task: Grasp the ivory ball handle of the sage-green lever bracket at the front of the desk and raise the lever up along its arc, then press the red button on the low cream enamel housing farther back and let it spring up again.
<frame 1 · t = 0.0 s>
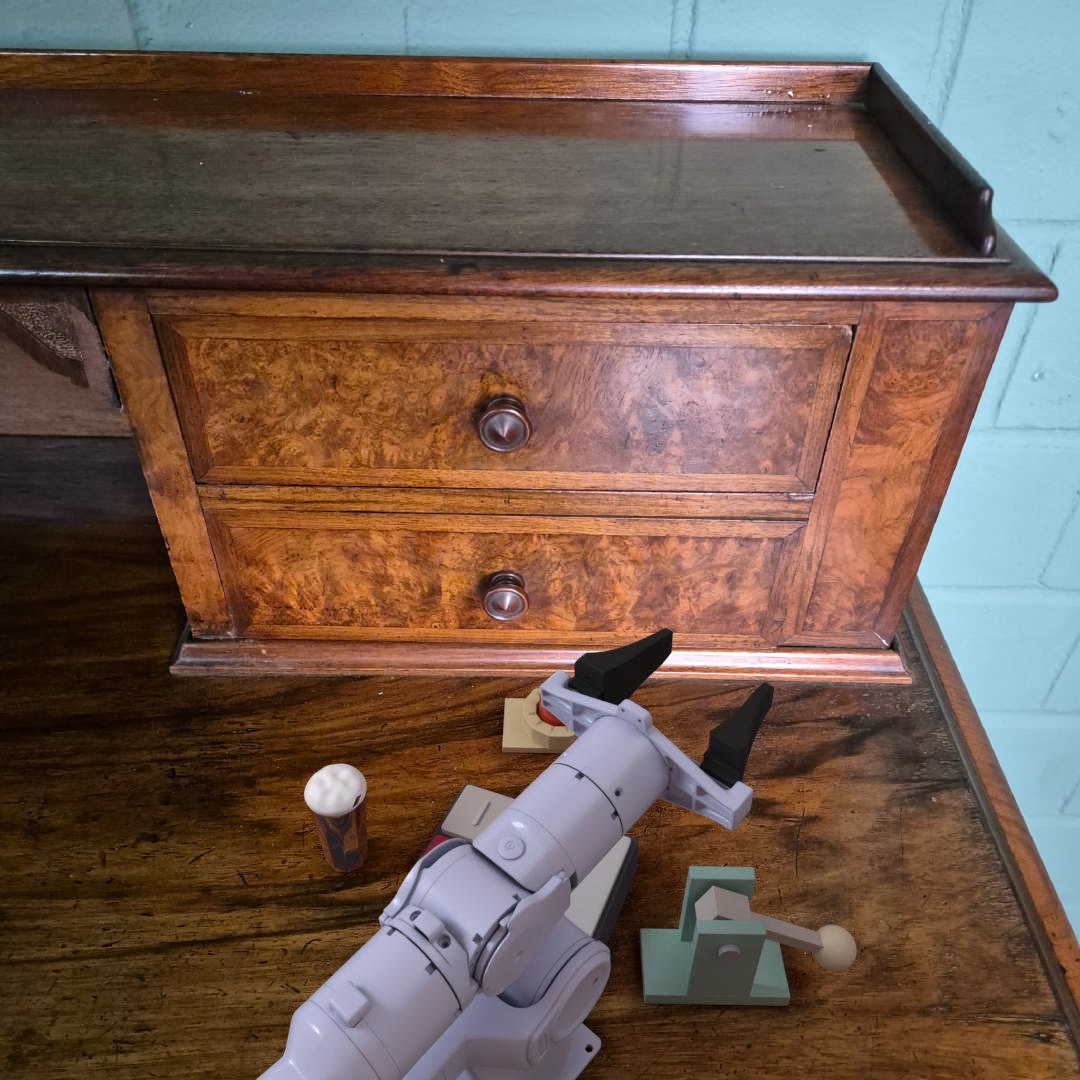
hand: (716, 666, 62), 22 cm above the table, tool horizontal, fingers open, 7 cm apart
milkshake: (351, 860, 75), on the table
calculator: (522, 892, 73), on the table
button box: (558, 728, 86), on the table
stop button: (559, 705, 85), point 3 cm above the table, slide at 0.1 cm
bracket: (711, 970, 68), on the table
lever: (780, 931, 65), point 5 cm above the table, hinge at -25.0°
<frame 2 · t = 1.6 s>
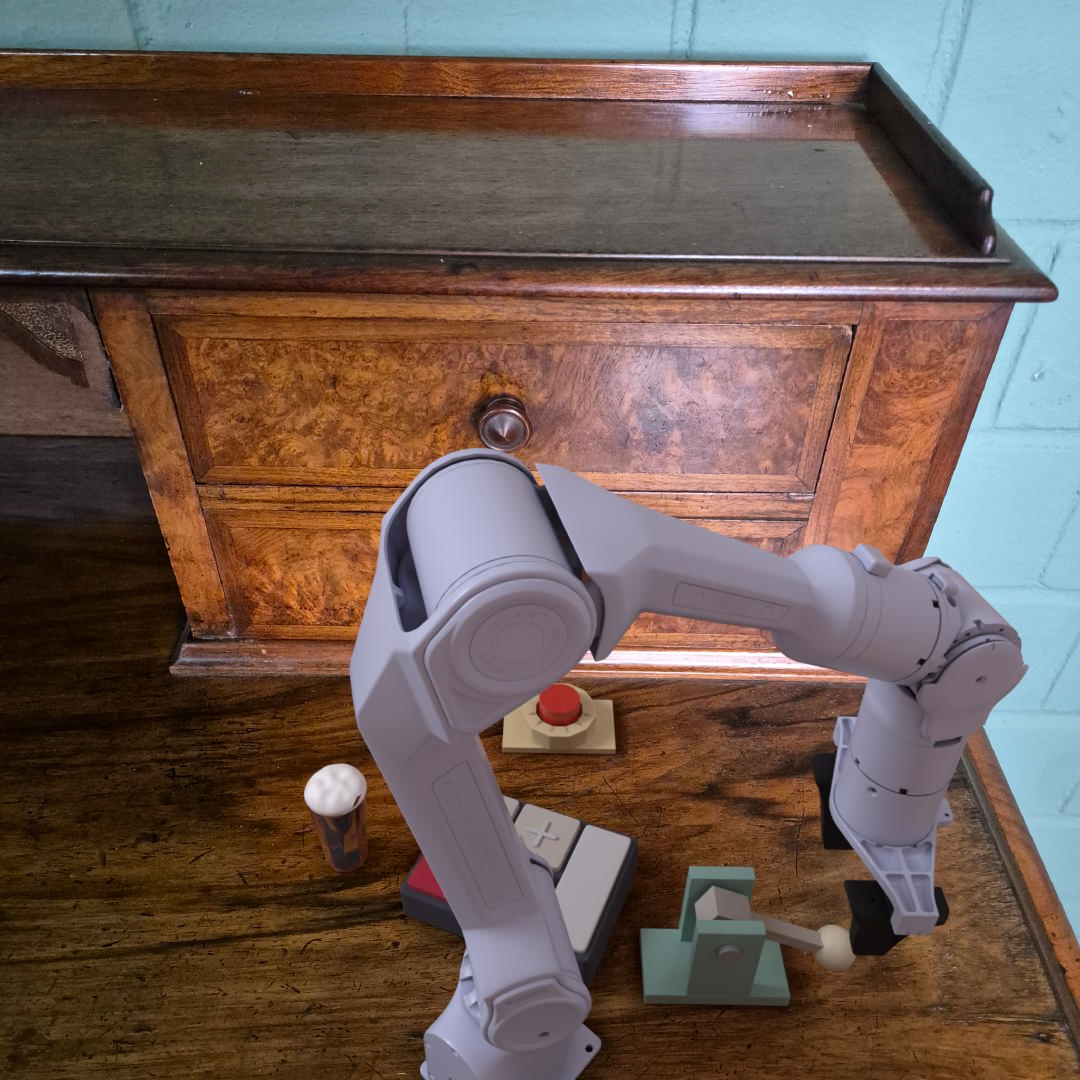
hand: (852, 895, 62), 9 cm above the table, tool pointing down, fingers open, 7 cm apart
nothing on the table moved.
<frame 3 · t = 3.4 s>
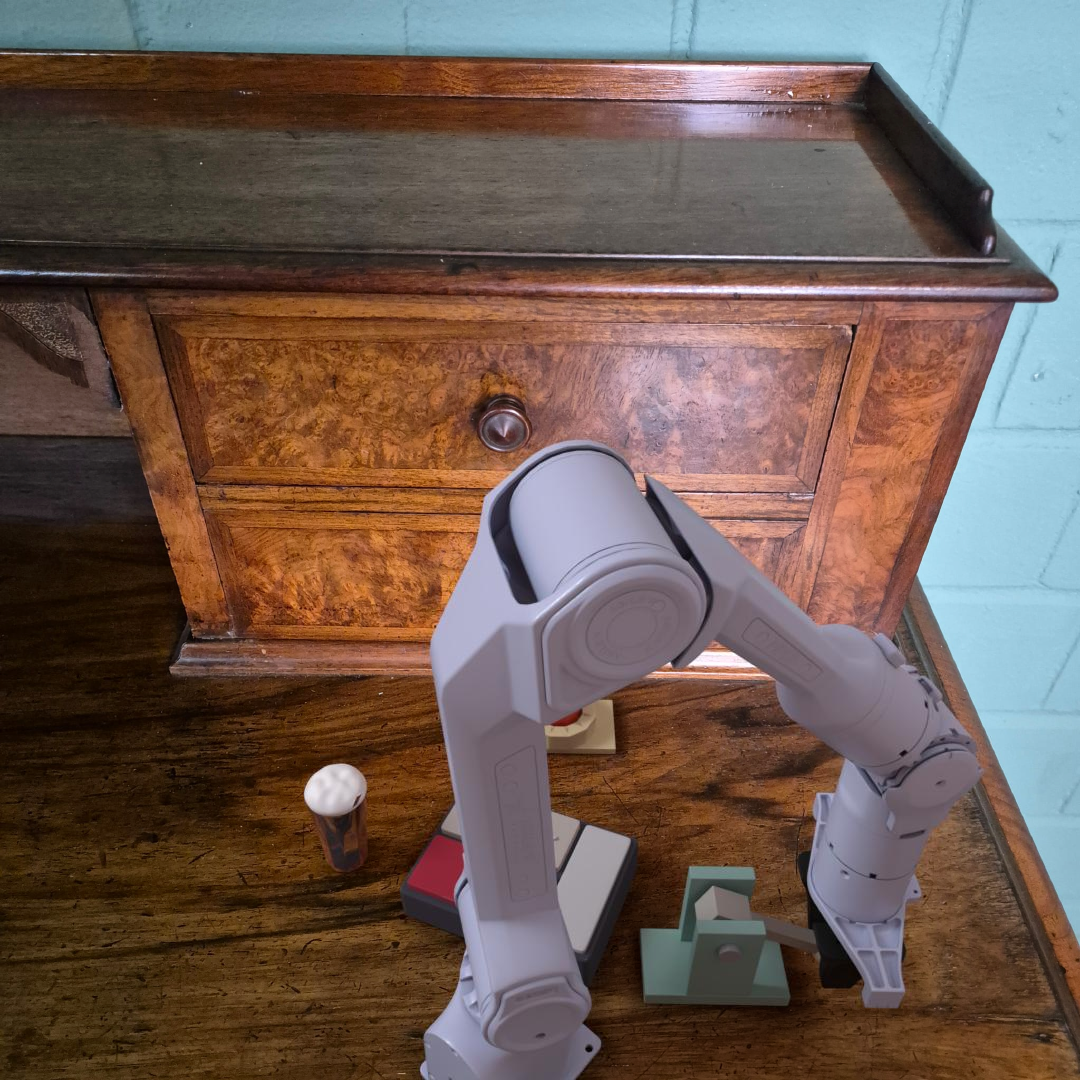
hand: (829, 960, 67), 2 cm above the table, tool pointing down, fingers closed on lever, 3 cm apart
lever: (780, 931, 65), point 5 cm above the table, hinge at -25.0°, touching gripper
everything else where it was.
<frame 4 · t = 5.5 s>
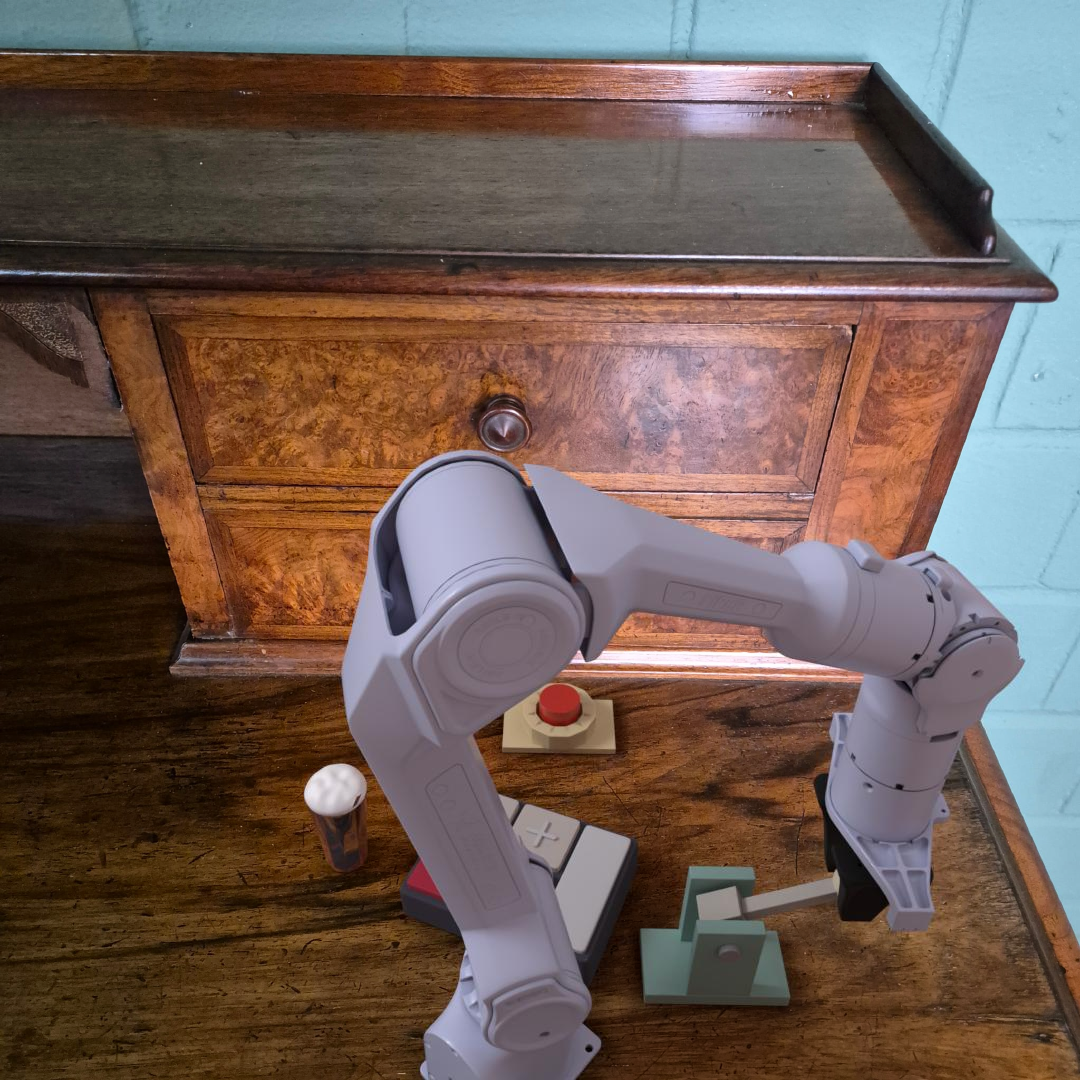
hand: (848, 892, 62), 10 cm above the table, tool pointing down, fingers closed on lever, 3 cm apart
lever: (789, 899, 63), point 9 cm above the table, hinge at 24.5°, touching gripper
everything else where it was.
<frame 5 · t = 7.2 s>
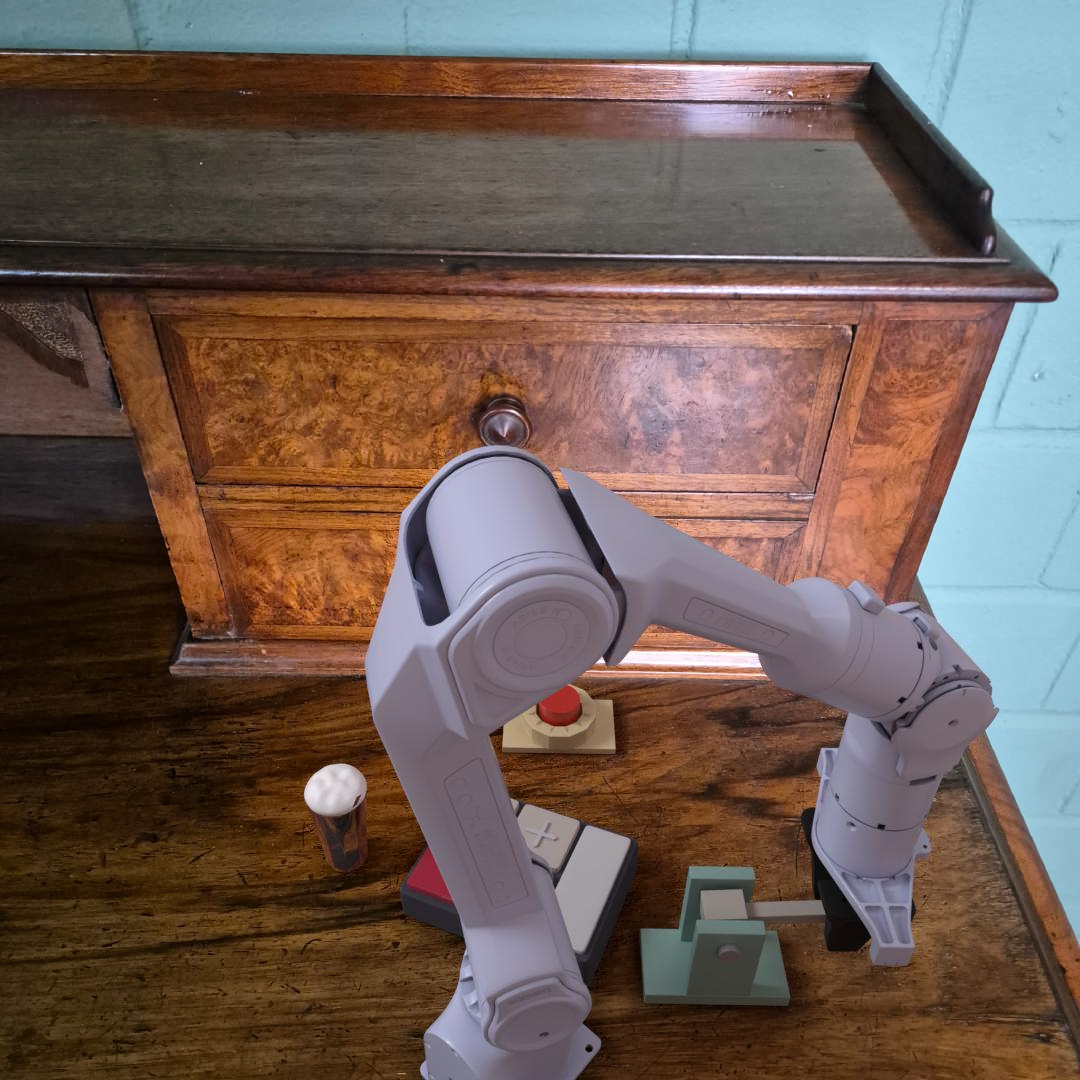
hand: (835, 922, 64), 6 cm above the table, tool pointing down, fingers closed on lever, 3 cm apart
lever: (791, 912, 63), point 7 cm above the table, hinge at 5.0°, touching gripper
everything else where it was.
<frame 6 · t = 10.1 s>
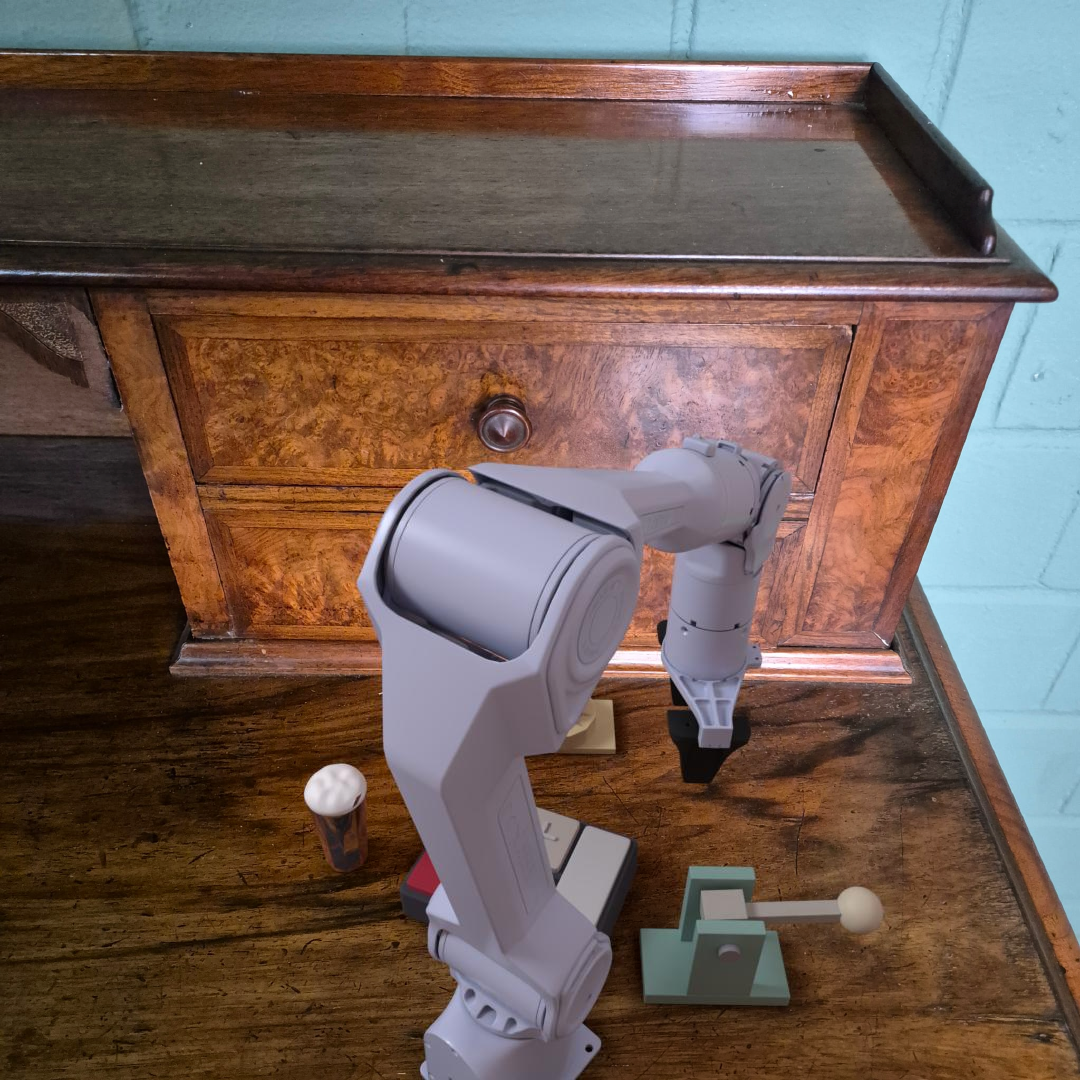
hand: (691, 740, 73), 10 cm above the table, tool pointing down, fingers open, 7 cm apart
lever: (791, 912, 63), point 7 cm above the table, hinge at 4.8°
everything else where it was.
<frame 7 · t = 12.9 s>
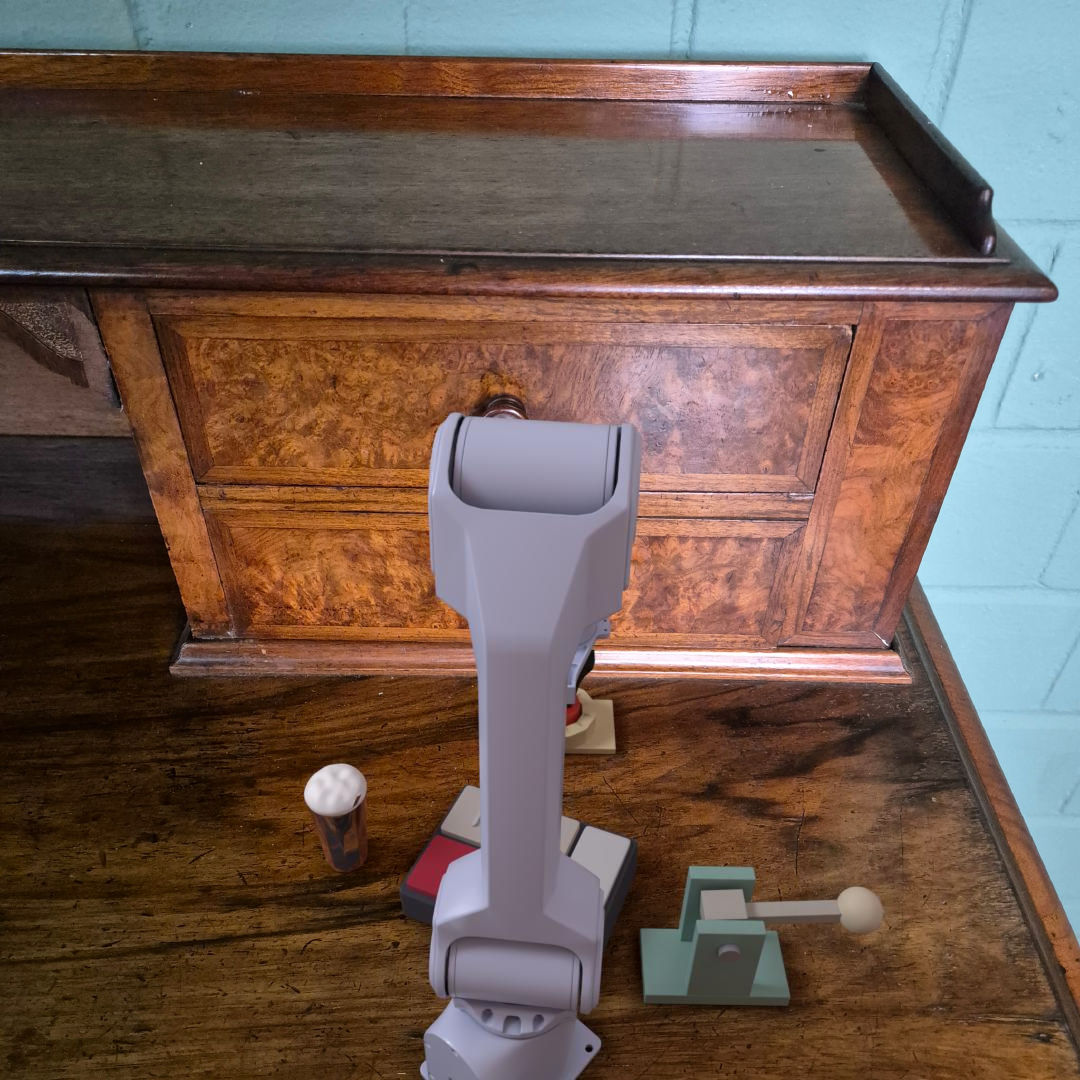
hand: (559, 702, 84), 3 cm above the table, tool pointing down, fingers closed, pressing on stop button
stop button: (559, 709, 85), point 2 cm above the table, slide at -0.4 cm, touching gripper
everything else where it was.
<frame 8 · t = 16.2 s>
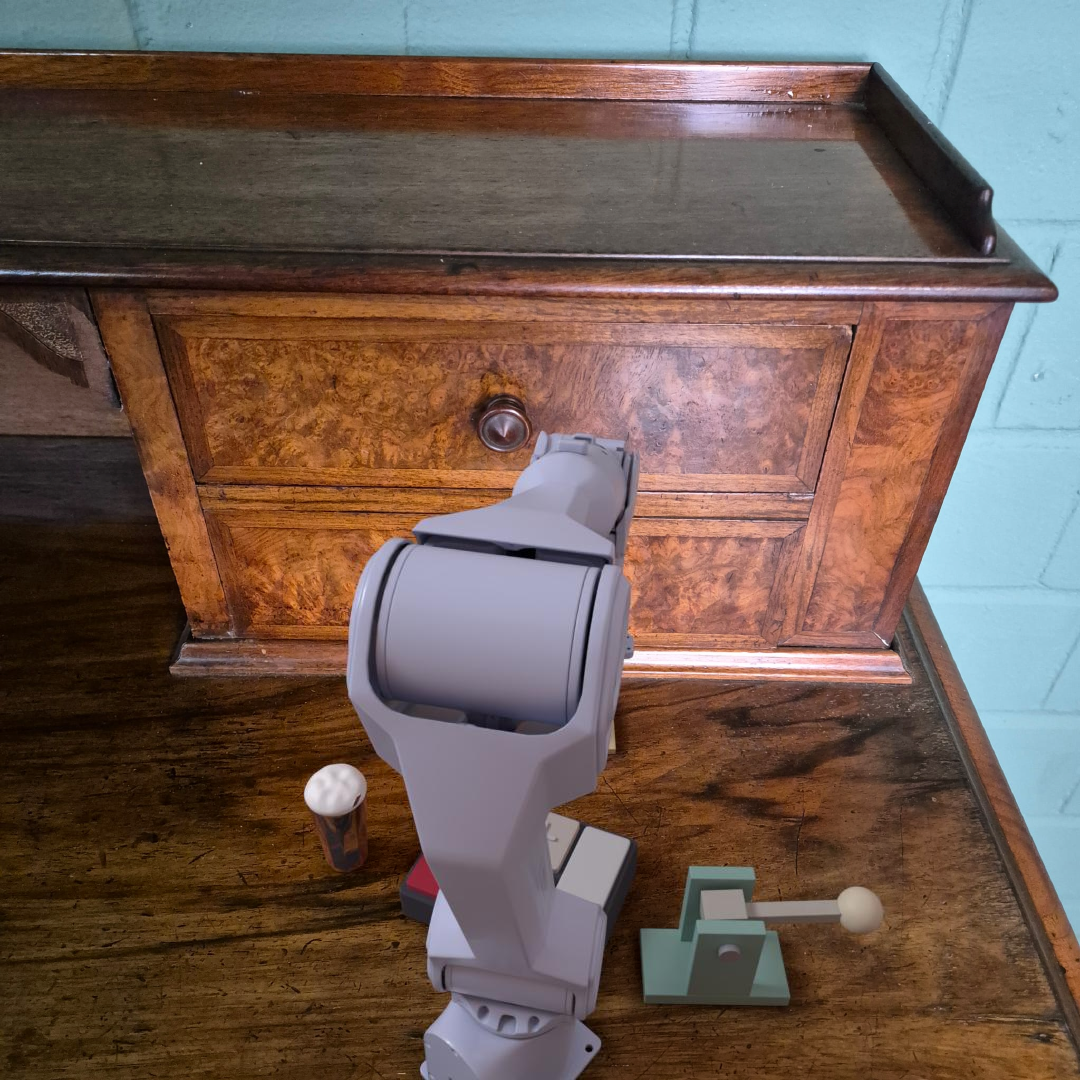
hand: (573, 730, 73), 10 cm above the table, tool pointing down, fingers closed
stop button: (559, 705, 85), point 3 cm above the table, slide at 0.1 cm
everything else where it was.
at the end: lever at +5° (first picture: -25°); stop button pushed in 1.2 cm at the most during the clip, back to where it started at the end; stop button slide at 0.1 cm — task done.
